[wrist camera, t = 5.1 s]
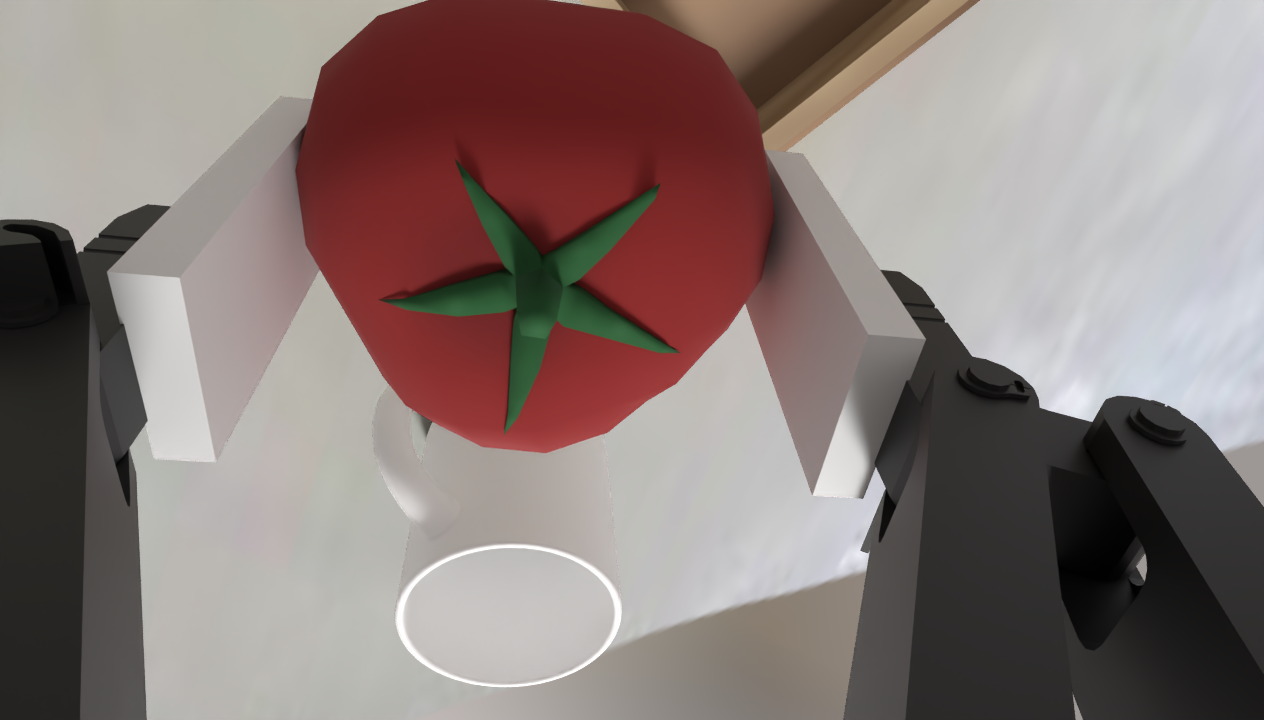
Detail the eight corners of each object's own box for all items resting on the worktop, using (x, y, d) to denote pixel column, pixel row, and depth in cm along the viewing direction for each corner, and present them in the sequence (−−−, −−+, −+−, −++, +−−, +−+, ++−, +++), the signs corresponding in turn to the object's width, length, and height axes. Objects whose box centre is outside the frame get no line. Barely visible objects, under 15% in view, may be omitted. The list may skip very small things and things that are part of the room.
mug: (329, 372, 35) (263, 554, 27) (480, 274, 33) (460, 438, 25) (501, 526, 42) (491, 713, 33) (637, 452, 40) (663, 631, 31)
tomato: (305, -22, 15) (133, 90, 9) (734, -73, 15) (841, 7, 9) (412, 339, 20) (343, 571, 14) (742, 300, 20) (818, 516, 14)
